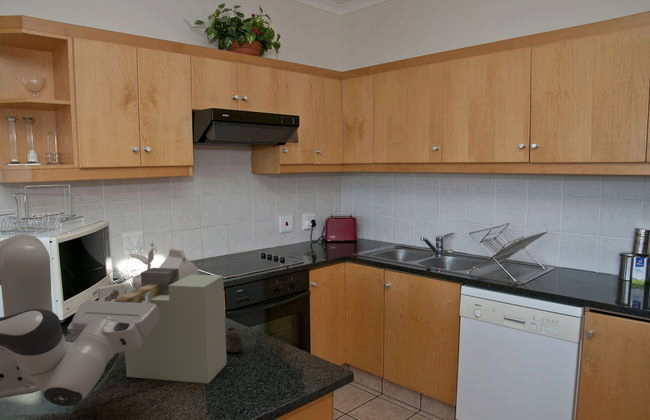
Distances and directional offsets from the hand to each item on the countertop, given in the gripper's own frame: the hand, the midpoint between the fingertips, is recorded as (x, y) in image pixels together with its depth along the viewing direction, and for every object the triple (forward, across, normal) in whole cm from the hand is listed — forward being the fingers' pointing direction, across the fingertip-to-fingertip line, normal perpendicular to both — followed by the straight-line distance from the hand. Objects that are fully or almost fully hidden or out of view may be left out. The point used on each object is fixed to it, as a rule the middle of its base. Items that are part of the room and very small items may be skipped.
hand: (132, 292), depth 118 cm
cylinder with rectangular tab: (+30, -43, -47) cm, 71 cm away
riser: (-3, +5, -28) cm, 28 cm away
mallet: (+3, 0, -6) cm, 6 cm away
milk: (+33, -17, -48) cm, 61 cm away
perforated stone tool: (+12, +13, -37) cm, 41 cm away
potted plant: (+50, -43, -59) cm, 89 cm away
